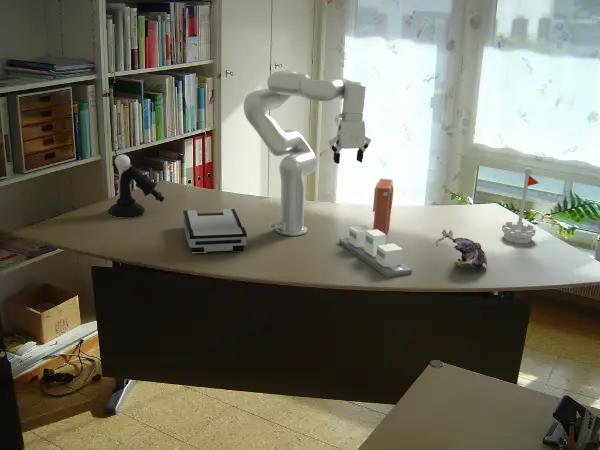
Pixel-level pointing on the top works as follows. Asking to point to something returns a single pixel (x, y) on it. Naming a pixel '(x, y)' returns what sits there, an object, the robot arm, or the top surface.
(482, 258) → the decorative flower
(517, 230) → the flag stand
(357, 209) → the top surface
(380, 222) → the control panel
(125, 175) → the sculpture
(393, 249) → the block
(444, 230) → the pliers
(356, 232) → the module left
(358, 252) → the rail board
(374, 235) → the block
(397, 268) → the din rail
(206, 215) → the game console
